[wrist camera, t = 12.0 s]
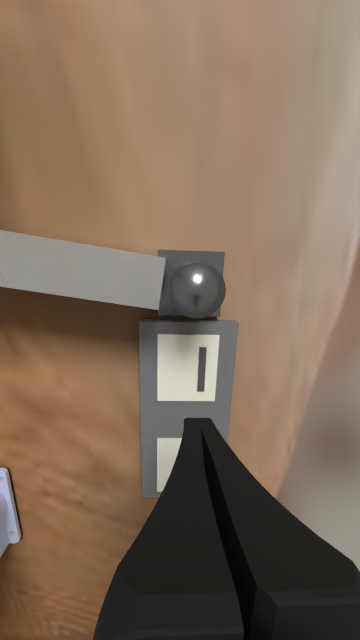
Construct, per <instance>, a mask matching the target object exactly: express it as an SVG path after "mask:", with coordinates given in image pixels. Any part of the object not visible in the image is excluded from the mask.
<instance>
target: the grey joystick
mask: <svg viewBox="0 0 360 640" xmlns="http://www.w3.org/2000/svg"><path fill="white" fill-rule="evenodd" d="M158 256H159V257H165V258H166V259H167V266H166V273H165V280H164V287H163V294H162V301H161V304H160V307H159V310H158V315H169V316H187V317H190V318H204V317H207V316H220V307H221V304H222V303H223V300H224V297H225V291H226V288H225V283H224V280H223V266H224V252H210V251H178V250H158Z"/></svg>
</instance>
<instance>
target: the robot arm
mask: <svg viewBox="0 0 360 640" xmlns="http://www.w3.org/2000/svg"><path fill="white" fill-rule="evenodd" d="M20 538H21V532H20V527H19V522H18V517H17V512H16V507H15V502H14V497H13V492H12V487H11V482H10V477H9V472H8V470H7V469H6V468H3V467H2V468H0V558H1V556H2V554H3V553H4V551H5V549H6V548H7V546H8V544H9V543H17V542H19V540H20ZM93 640H360V571H359V570H358V569H357V567H356V566H355V564H354V563H353V561H351V560H350V559H349V558H347V557H346V556H345V555H343V554H342V553H341V552H339V551H338V550H337V549H335V548H334V547H333V546H331V545H330V544H329V543H327V542H326V541H325V540H323V539H322V538H320V537H319V536H318V535H316V534H315V533H314V532H313V531H312V530H310V529H309V528H308V527H307V526H306V525H304V524H303V523H302V522H301V521H299V520H298V519H297V518H296V517H295V516H294V515H292V514H291V513H290V512H289V511H288V510H287V509H286V508H285V507H283V506H282V505H281V504H280V503H279V502H278V501H277V500H276V499H275V498H274V497H273V496H272V495H271V494H270V493H269V492H268V491H267V490H266V489H265V488H264V487H263V486H262V485H261V484H260V483H259V482H258V481H257V480H256V479H255V478H254V476H253V475H252V474H251V473H250V472H249V471H248V470H247V468H246V467H245V466H244V465H243V464H242V462H241V461H240V460H239V459H238V457H237V456H236V455H235V454H234V452H233V451H232V449H231V448H230V447H229V445H228V444H227V443H226V441H225V440H224V438H223V437H222V435H221V434H220V432H219V431H218V429H217V428H216V426H215V424H214V423H213V421H212V419H211V418H185V419H184V429H183V435H182V440H181V444H180V447H179V451H178V454H177V457H176V460H175V463H174V465H173V468H172V471H171V473H170V476H169V478H168V480H167V482H166V485H165V487H164V489H163V491H162V493H161V495H160V497H159V499H158V501H157V503H156V505H155V507H154V509H153V511H152V513H151V514H150V516H149V518H148V519H147V521H146V523H145V525H144V526H143V528H142V530H141V531H140V533H139V535H138V536H137V538H136V540H135V541H134V543H133V544H132V546H131V547H130V549H129V550H128V552H127V553H126V555H125V556H124V558H123V559H122V561H121V562H120V564H119V565H118V567H117V569H116V572H115V574H114V577H113V579H112V582H111V584H110V586H109V589H108V592H107V594H106V597H105V600H104V602H103V605H102V608H101V611H100V614H99V618H98V621H97V625H96V628H95V633H94V638H93Z"/></svg>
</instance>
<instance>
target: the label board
mask: <svg viewBox="0 0 360 640" xmlns="http://www.w3.org/2000/svg"><path fill="white" fill-rule="evenodd" d="M237 332H238V323H237V322H236V321H234V320H181V319H140V321H139V358H140V413H141V469H142V498H159V497H160V495H161V493H162V491H163V489H164V487H165V485H166V482H167V480H168V478H169V476H170V473H171V471H172V468H173V465H174V463H175V460H176V457H177V454H178V451H179V447H180V444H181V440H182V435H183V429H184V419H185V418H211V419H212V421H213V423H214V424H215V426H216V428H217V429H218V431H219V432H220V434H221V435H222V437H223V438H224V440H225V441H226V443H227V438H228V428H229V417H230V406H231V396H232V385H233V375H234V364H235V353H236V343H237Z"/></svg>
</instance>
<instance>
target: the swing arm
mask: <svg viewBox="0 0 360 640" xmlns="http://www.w3.org/2000/svg"><path fill="white" fill-rule="evenodd" d="M166 266H167V259H166V258H165V257H159V256H153V255H147V254H141V253H135V252H129V251H123V250H117V249H111V248H105V247H99V246H93V245H87V244H81V243H75V242H69V241H63V240H57V239H51V238H45V237H39V236H33V235H27V234H21V233H15V232H9V231H3V230H0V287H7V288H13V289H20V290H27V291H34V292H40V293H47V294H54V295H60V296H67V297H74V298H81V299H87V300H94V301H101V302H107V303H114V304H121V305H128V306H134V307H141V308H148V309H154V310H159V307H160V304H161V301H162V294H163V287H164V280H165V273H166Z"/></svg>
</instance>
